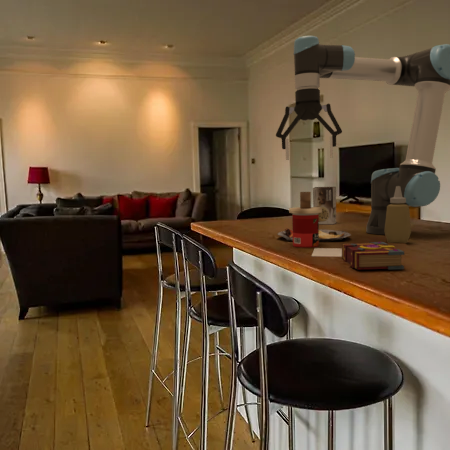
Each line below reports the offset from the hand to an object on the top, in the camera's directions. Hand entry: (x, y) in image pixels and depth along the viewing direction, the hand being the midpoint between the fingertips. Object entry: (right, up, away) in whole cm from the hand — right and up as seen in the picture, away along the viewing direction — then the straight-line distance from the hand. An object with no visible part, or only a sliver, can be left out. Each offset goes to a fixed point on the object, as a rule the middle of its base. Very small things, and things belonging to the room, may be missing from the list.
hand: (309, 158), depth 159 cm
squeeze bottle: (+28, -27, +2) cm, 39 cm away
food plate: (+4, -26, +17) cm, 31 cm away
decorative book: (+10, -31, -32) cm, 46 cm away
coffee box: (+17, -20, +64) cm, 70 cm away
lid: (-2, -17, -3) cm, 17 cm away
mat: (+6, -29, -16) cm, 33 cm away
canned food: (-1, -28, -2) cm, 28 cm away
